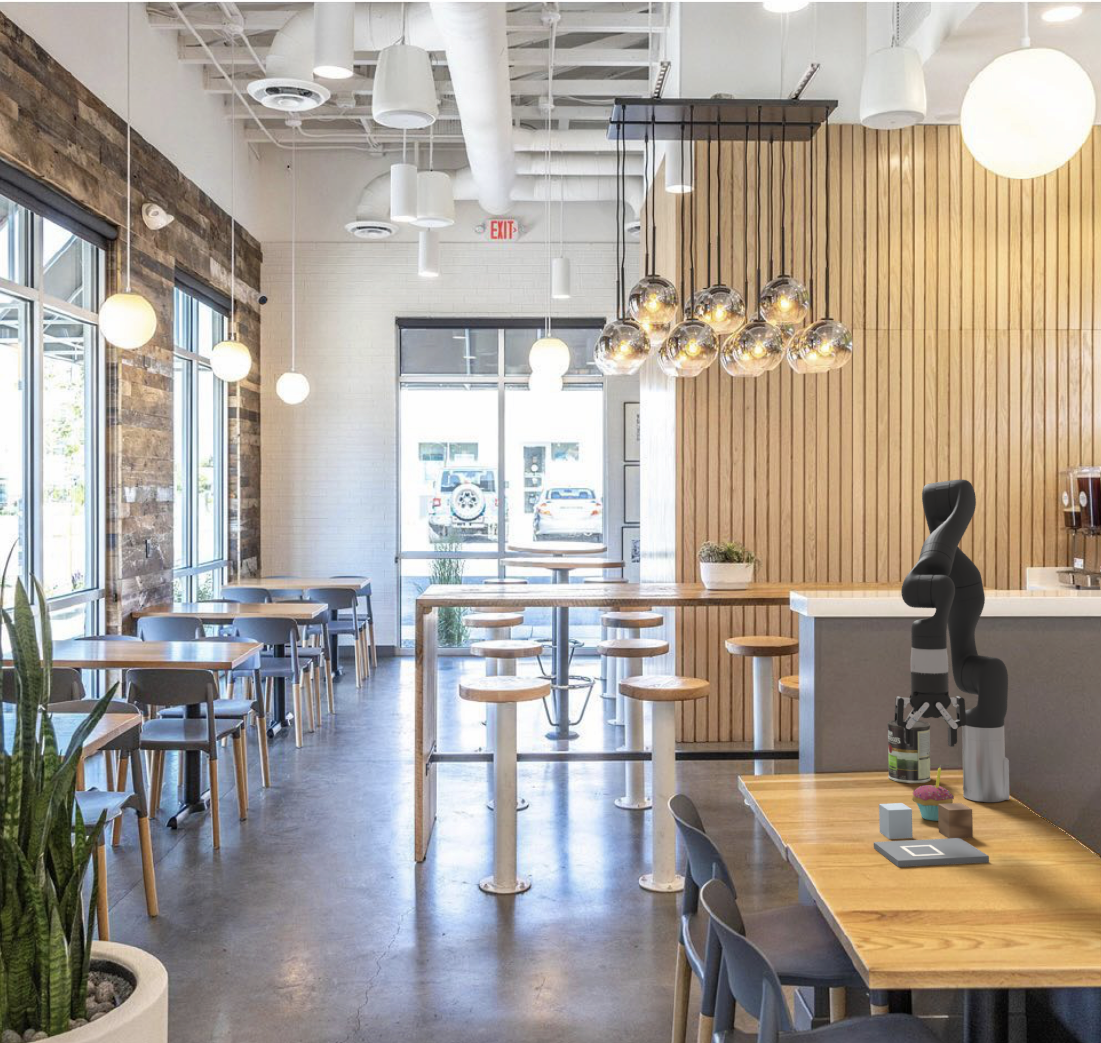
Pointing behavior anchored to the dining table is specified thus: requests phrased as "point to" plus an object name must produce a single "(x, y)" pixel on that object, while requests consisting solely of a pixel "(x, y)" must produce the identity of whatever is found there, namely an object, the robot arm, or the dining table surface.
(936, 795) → the cupcake
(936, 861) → the grey flat plate
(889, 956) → the dining table surface
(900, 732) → the coffee can
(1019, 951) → the dining table surface
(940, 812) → the walnut block
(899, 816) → the greyblue block
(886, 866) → the dining table surface
